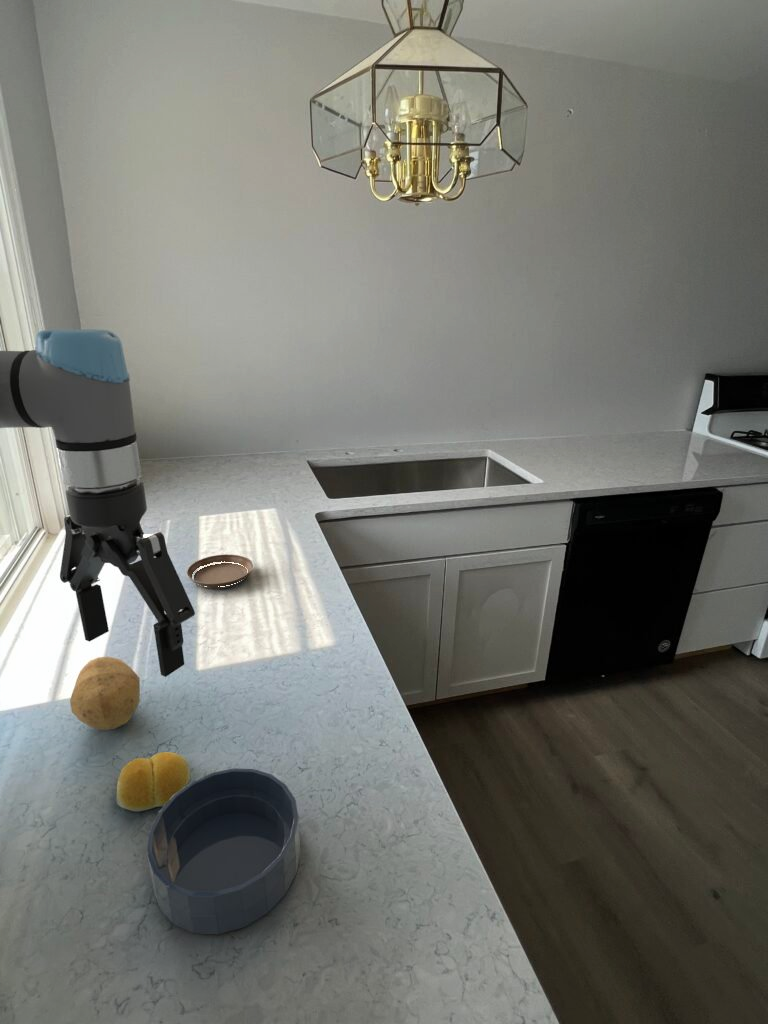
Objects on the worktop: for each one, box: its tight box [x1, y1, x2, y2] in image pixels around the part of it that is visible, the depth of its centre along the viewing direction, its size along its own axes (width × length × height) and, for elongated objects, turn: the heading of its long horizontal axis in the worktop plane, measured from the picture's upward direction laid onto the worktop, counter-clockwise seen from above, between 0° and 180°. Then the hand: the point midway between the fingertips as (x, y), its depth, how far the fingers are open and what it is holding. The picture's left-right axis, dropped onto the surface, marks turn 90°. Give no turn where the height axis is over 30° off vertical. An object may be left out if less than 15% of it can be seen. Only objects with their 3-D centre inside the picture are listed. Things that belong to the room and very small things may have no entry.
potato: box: [69, 656, 141, 731], centre depth 84 cm, size 10×14×8 cm
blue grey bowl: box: [146, 767, 301, 935], centre depth 63 cm, size 16×16×6 cm
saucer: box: [186, 553, 254, 590], centre depth 129 cm, size 15×15×3 cm
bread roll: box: [115, 751, 191, 813], centre depth 73 cm, size 8×9×4 cm
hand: (133, 652), depth 66 cm, fingers open, 13 cm apart
